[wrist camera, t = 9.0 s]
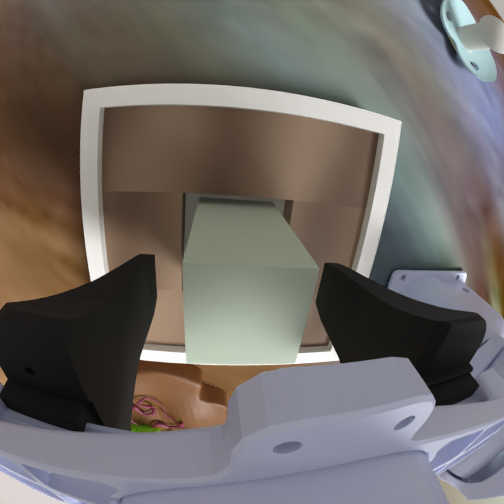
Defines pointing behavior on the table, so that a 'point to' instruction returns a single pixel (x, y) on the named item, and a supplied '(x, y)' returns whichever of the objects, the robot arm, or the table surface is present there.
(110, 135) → the hole plate
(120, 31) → the table surface
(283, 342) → the peg
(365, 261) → the tray
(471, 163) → the table surface
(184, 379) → the plant
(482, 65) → the pacifier
